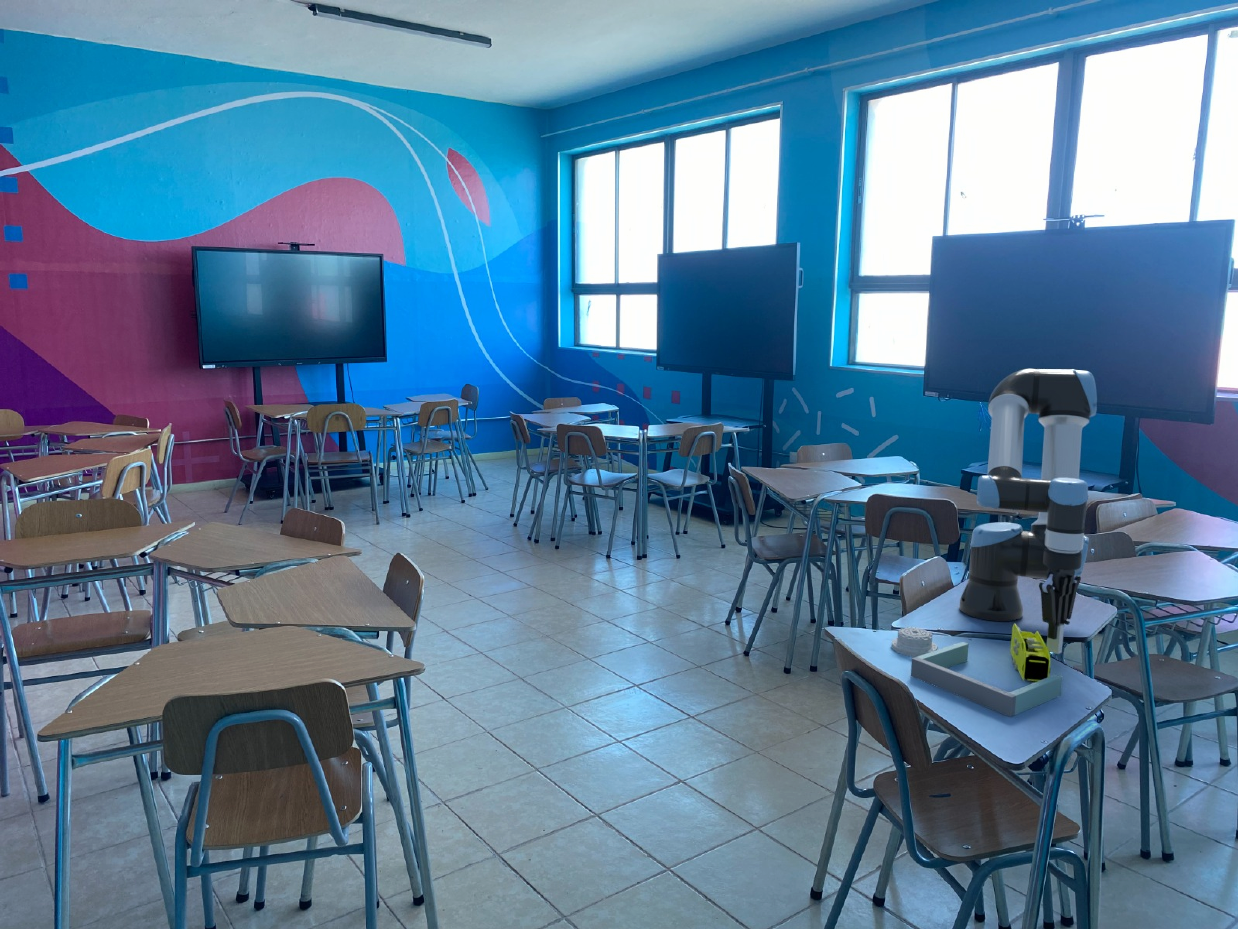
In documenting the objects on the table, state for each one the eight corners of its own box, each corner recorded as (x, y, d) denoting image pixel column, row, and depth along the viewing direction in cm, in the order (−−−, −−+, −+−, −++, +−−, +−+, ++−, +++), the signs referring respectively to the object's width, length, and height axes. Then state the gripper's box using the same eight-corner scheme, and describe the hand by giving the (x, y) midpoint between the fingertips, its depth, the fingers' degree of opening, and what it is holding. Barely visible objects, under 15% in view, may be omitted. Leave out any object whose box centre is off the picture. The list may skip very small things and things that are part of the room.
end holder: (961, 658, 194) (962, 641, 194) (1060, 695, 176) (1062, 677, 175) (910, 676, 185) (911, 658, 184) (1010, 717, 166) (1011, 697, 165)
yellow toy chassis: (1007, 655, 197) (1010, 620, 196) (1035, 658, 196) (1038, 622, 194) (1020, 683, 182) (1023, 645, 180) (1049, 686, 180) (1053, 648, 179)
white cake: (942, 659, 195) (930, 643, 205) (943, 640, 194) (932, 625, 204) (896, 657, 196) (887, 641, 206) (897, 639, 195) (888, 623, 205)
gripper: (1062, 541, 197) (1053, 640, 200) (1029, 549, 189) (1021, 652, 193) (1096, 548, 190) (1086, 650, 194) (1063, 557, 183) (1053, 663, 187)
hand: (1053, 651), depth 194 cm, fingers closed
